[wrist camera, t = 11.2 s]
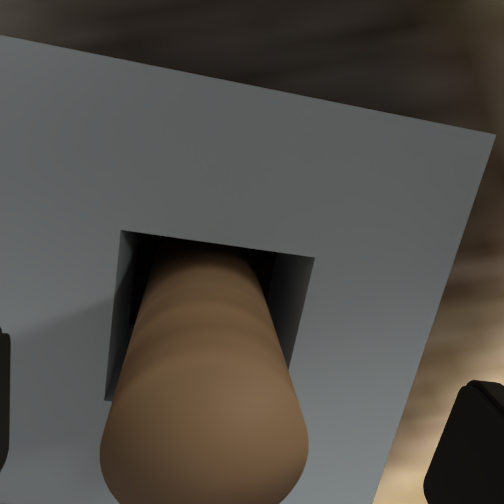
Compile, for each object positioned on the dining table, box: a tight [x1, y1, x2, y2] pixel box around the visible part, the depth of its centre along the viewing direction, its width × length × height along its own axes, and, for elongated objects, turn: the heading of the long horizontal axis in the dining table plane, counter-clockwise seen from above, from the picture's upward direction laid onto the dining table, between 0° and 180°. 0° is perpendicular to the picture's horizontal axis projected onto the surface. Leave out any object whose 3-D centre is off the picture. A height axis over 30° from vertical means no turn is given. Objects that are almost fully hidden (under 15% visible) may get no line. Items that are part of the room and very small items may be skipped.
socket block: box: [0, 35, 496, 504], centre depth 16 cm, size 14×14×5 cm
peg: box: [100, 237, 309, 504], centre depth 13 cm, size 4×4×10 cm
